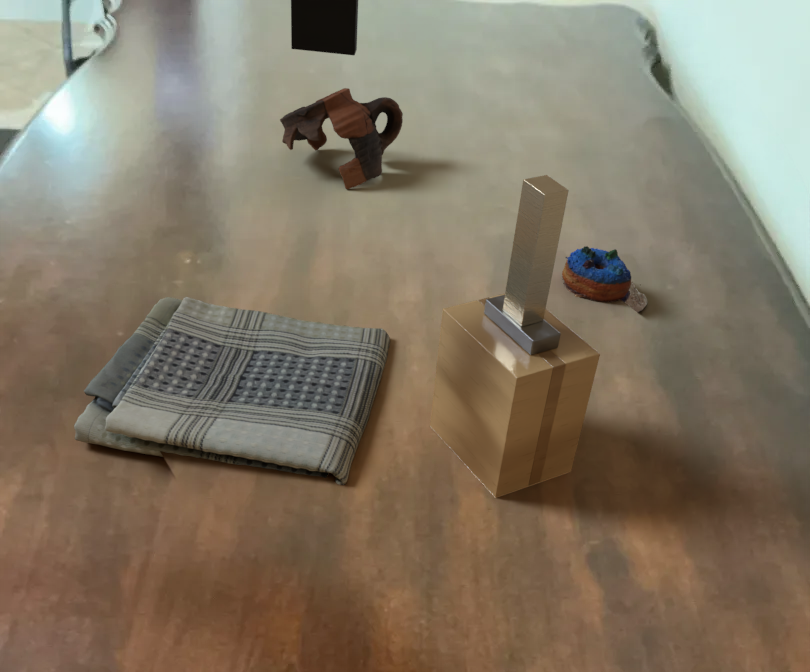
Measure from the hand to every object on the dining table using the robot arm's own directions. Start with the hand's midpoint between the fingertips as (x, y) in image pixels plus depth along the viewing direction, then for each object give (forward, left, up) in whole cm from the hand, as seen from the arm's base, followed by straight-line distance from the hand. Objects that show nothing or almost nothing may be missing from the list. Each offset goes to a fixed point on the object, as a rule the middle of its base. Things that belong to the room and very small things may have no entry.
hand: (345, 3), depth 47 cm
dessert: (-19, -23, -27) cm, 40 cm away
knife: (-11, 0, -26) cm, 28 cm away
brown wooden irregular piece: (+5, -43, -27) cm, 51 cm away
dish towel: (+7, -4, -27) cm, 28 cm away
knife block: (-11, 0, -27) cm, 29 cm away
